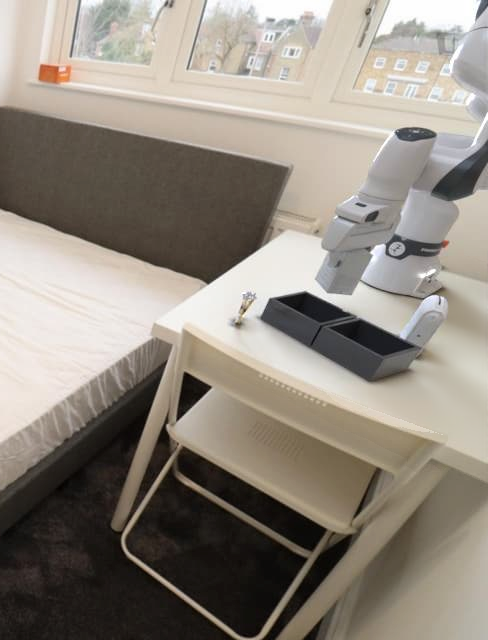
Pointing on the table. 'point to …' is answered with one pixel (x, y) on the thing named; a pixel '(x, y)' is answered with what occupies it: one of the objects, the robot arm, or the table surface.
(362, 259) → the small box
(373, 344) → the basin
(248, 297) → the ring
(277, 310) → the basin
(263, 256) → the table surface
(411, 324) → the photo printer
